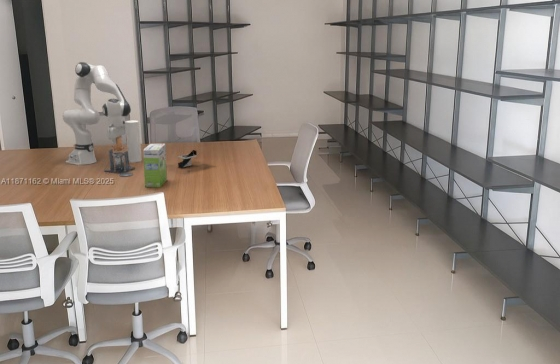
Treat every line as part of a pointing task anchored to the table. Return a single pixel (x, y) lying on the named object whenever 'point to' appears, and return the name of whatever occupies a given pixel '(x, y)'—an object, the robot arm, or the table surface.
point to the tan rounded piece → (118, 144)
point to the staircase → (187, 159)
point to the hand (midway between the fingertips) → (117, 143)
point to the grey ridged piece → (119, 162)
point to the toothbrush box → (155, 165)
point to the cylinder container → (133, 140)
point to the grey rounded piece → (125, 174)
